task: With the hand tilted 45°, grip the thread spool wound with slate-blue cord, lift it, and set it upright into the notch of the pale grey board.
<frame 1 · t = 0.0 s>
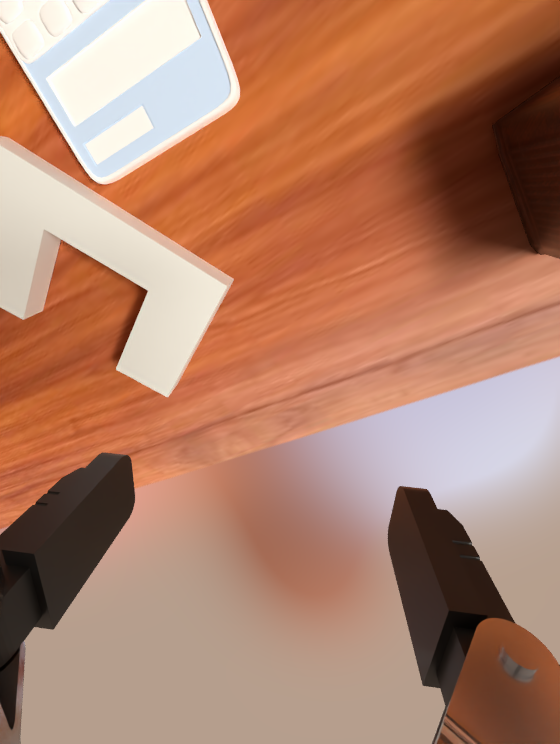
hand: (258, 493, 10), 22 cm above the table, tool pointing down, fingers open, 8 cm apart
notched board: (105, 279, 31), on the table
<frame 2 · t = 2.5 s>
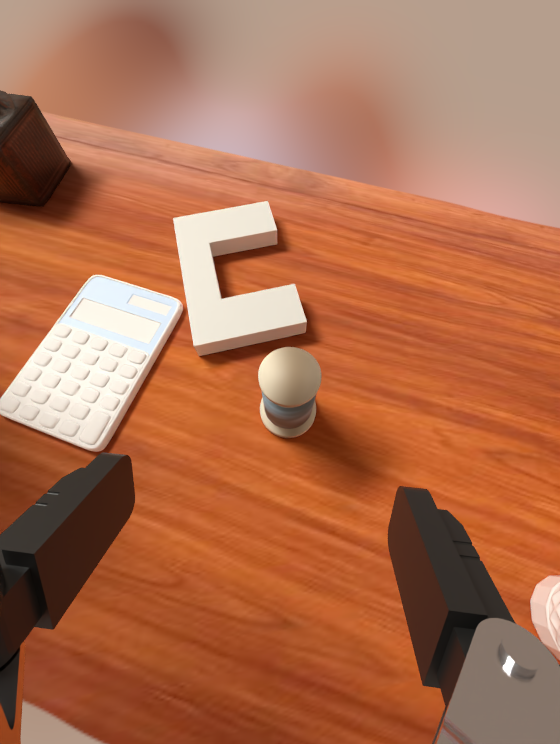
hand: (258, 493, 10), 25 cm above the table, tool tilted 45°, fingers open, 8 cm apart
manual coffee grinder: (14, 178, 53), on the table
thread spool: (287, 411, 37), on the table
calculator: (101, 358, 41), on the table
notched board: (237, 279, 44), on the table
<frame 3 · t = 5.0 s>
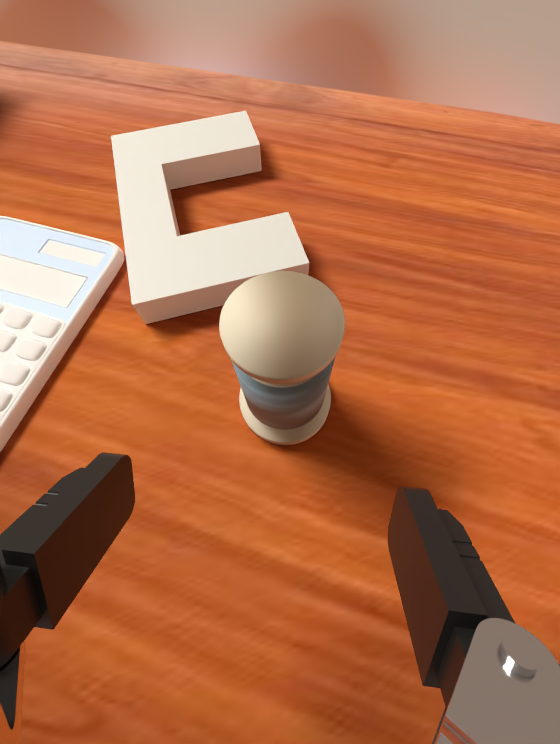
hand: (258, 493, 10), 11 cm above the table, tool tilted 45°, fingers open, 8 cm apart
thread spool: (285, 401, 23), on the table
notched board: (204, 216, 31), on the table
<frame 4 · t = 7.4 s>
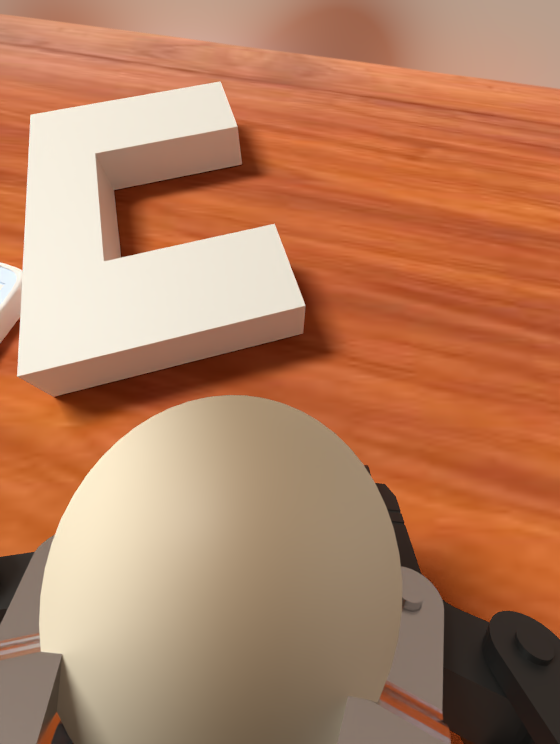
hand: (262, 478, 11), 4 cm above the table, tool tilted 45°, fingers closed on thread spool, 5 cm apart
thread spool: (263, 538, 14), on the table, touching gripper
notched board: (158, 228, 22), on the table
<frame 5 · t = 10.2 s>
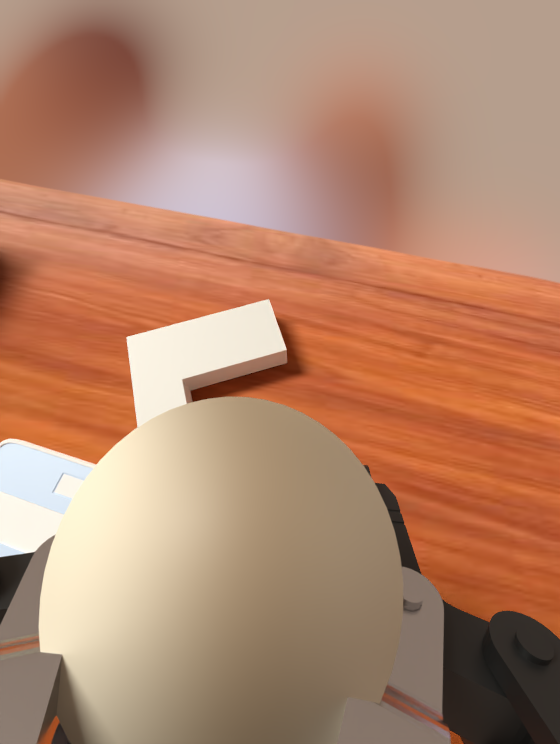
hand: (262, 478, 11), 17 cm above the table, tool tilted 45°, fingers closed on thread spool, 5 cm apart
thread spool: (264, 539, 14), point 12 cm above the table, touching gripper
calculator: (12, 594, 25), on the table
notched board: (229, 429, 29), on the table
when the fingers open (5 cm above the table, at t = 13.0 s): thread spool drops 1 cm, on the table.
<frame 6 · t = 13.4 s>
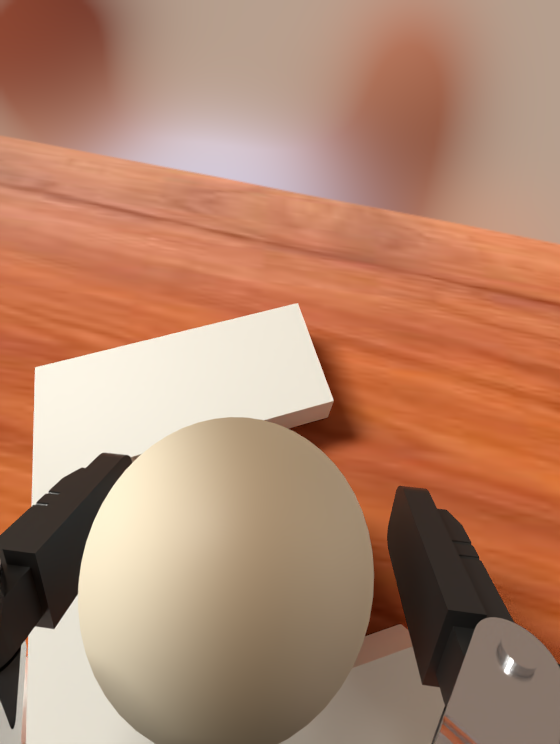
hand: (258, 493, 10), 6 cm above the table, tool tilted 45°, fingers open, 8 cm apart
thread spool: (263, 539, 15), on the table
notched board: (221, 551, 15), on the table
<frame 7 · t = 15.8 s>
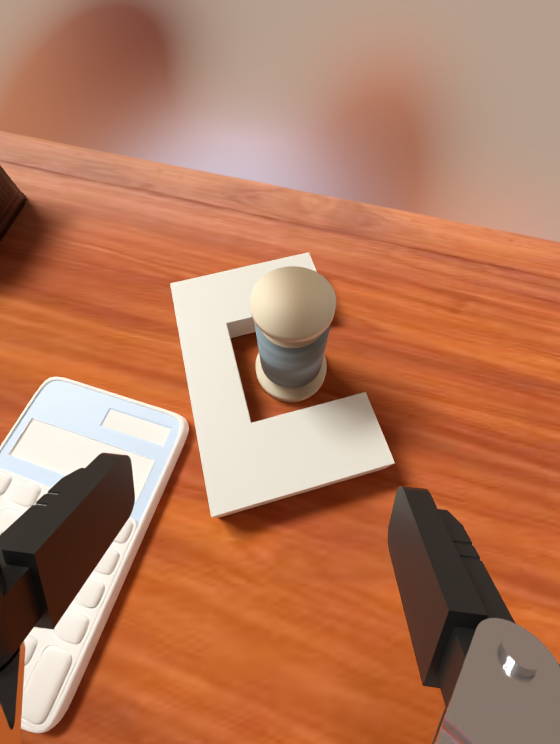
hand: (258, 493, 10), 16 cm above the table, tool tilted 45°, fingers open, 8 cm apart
thread spool: (290, 369, 30), on the table
calculator: (62, 520, 26), on the table
notched board: (269, 374, 29), on the table
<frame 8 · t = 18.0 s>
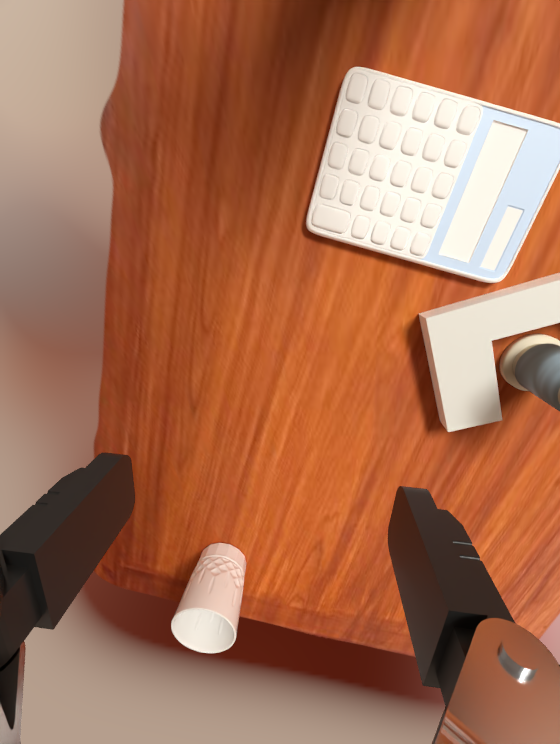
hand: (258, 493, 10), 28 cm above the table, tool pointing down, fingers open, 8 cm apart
white cup: (224, 558, 50), on the table
thread spool: (529, 361, 36), on the table
calculator: (425, 186, 32), on the table
notched board: (528, 344, 35), on the table
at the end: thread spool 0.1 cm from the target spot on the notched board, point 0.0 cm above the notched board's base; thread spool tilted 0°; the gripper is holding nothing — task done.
